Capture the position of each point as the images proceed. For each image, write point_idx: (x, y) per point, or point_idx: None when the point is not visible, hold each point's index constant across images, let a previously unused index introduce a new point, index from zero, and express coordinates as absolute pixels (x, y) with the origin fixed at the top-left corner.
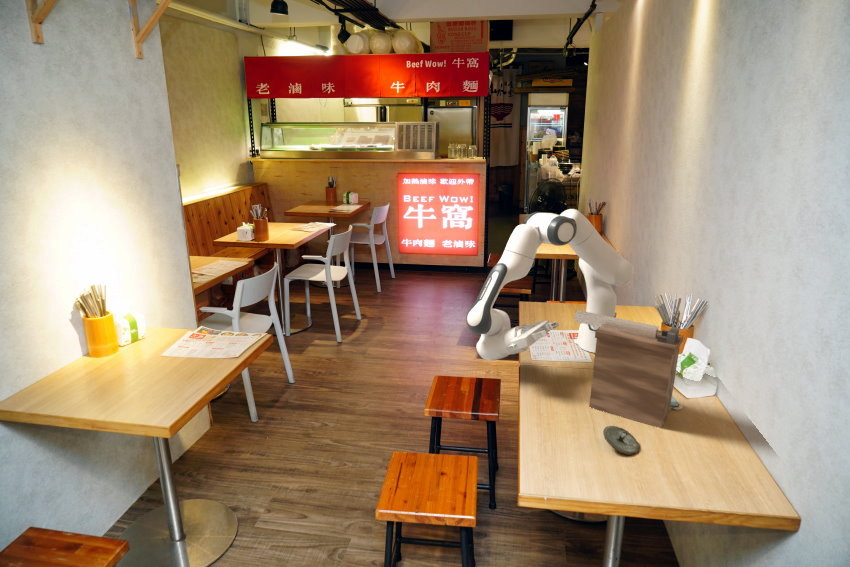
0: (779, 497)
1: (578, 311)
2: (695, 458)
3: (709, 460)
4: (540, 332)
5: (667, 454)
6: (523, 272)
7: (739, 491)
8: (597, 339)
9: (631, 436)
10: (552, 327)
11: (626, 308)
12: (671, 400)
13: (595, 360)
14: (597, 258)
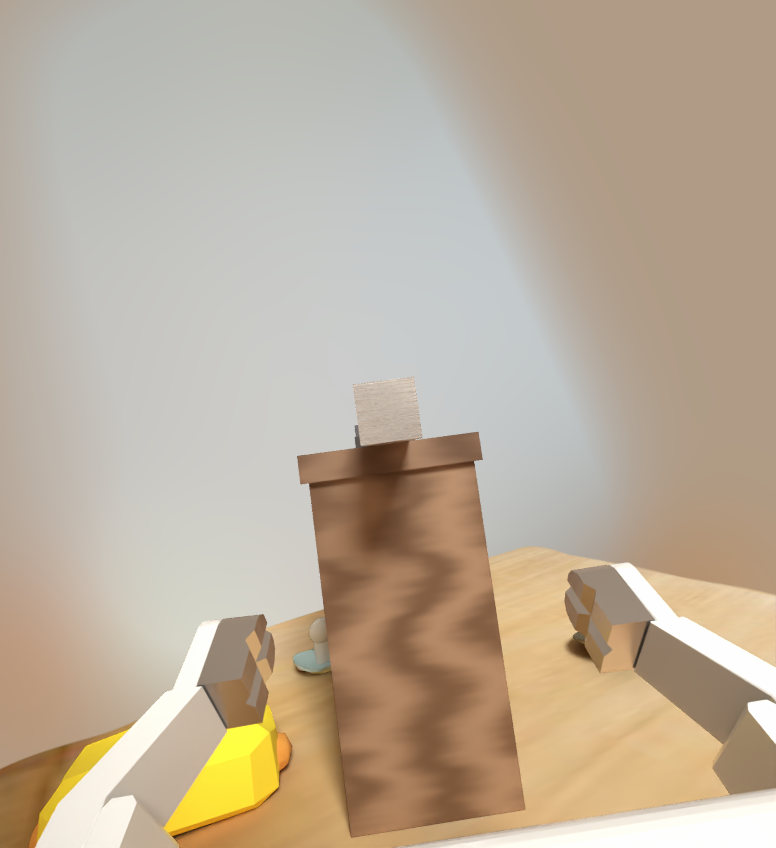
0: (509, 553)
1: (378, 383)
2: (514, 594)
3: (499, 587)
4: (672, 620)
5: (548, 610)
6: None
7: (540, 563)
8: (474, 468)
9: (580, 634)
10: (200, 756)
11: None
12: (311, 658)
13: (488, 564)
14: None
